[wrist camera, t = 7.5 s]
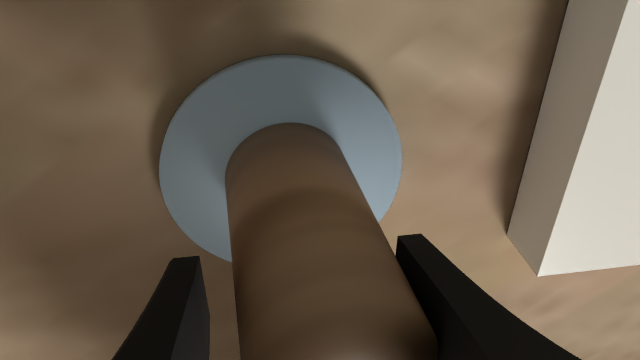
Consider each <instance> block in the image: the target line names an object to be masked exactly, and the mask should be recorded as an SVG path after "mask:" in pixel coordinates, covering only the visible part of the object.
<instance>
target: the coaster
mask: <svg viewBox="0 0 640 360" xmlns="http://www.w3.org/2000/svg"><path fill="white" fill-rule="evenodd" d="M293 122H294V123H303V124H307V125H311V126H314V127H316V128H318V129H320V130H322V131H324V132H325V133H327V134H328V135H329V136H331V137H332V138H333V139H334V140H335V142H336V143H337V144H338V146H339V147H340V149H341V151H342V153H343V155H344V157H345V159H346V161H347V163H348V165H349V167H350V169H351V171H352V172H353V174H354V176H355V178H356V180H357V182H358V184H359V186H360V188H361V190H362V192H363V194H364V196H365V198H366V200H367V202H368V204H369V206H370V208H371V210H372V212H373V214H374V216H375V217H376V219H377V221H378V222H379V221H380V220H381V219H382V218H383V216H384V215H385V213H386V212H387V210H388V208H389V207H390V205H391V203H392V201H393V199H394V197H395V195H396V191H397V188H398V185H399V182H400V177H401V171H402V149H401V142H400V138H399V135H398V131H397V128H396V126H395V124H394V122H393V120H392V117H391V116H390V114H389V113H388V111H387V110H386V108H385V106H384V105H383V103H382V102H381V100H380V99H379V97H378V96H377V95H376V94H375V93H374V92H373V91H372V89H371V88H370V87H369V86H368V85H367V84H365V83H364V82H363V81H362V80H361V79H359V78H358V77H357V76H355V75H354V74H352V73H350V72H349V71H347V70H346V69H344V68H342V67H339V66H337V65H335V64H333V63H330V62H328V61H324V60H321V59H317V58H314V57H308V56H301V55H283V54H277V55H268V56H260V57H256V58H252V59H248V60H244V61H241V62H238V63H236V64H233V65H231V66H228V67H226V68H224V69H222V70H221V71H219V72H217V73H215V74H213V75H212V76H210V77H209V78H208V79H206V80H205V81H203V82H202V83H201V84H199V85H198V86H197V87H196V88H195V89H194V90H193V91H192V92H191V93H190V94H189V95H188V96H187V97H186V98H185V100H184V101H183V102H182V104H181V105H180V106H179V108H178V109H177V110H176V112H175V114H174V116H173V118H172V119H171V121H170V123H169V126H168V129H167V131H166V134H165V137H164V141H163V145H162V149H161V155H160V160H159V179H160V187H161V191H162V195H163V198H164V202H165V204H166V206H167V208H168V210H169V212H170V215H171V216H172V218H173V219H174V221H175V222H176V224H177V225H178V226H179V227H180V229H181V230H182V231H183V232H184V233H185V234H186V235H187V236H188V237H189V238H190V239H191V240H192V241H193V242H195V243H196V244H197V245H198V246H200V247H201V248H203V249H204V250H206V251H207V252H209V253H211V254H213V255H215V256H217V257H219V258H221V259H223V260H226V261H229V262H232V257H231V246H230V235H229V223H228V212H227V201H226V190H225V171H226V167H227V164H228V161H229V159H230V157H231V155H232V153H233V152H234V150H235V149H236V148H237V147H238V145H239V144H240V143H241V142H242V141H243V140H245V139H246V138H247V137H248V136H250V135H251V134H253V133H254V132H256V131H258V130H260V129H262V128H265V127H267V126H270V125H274V124H279V123H293Z"/></svg>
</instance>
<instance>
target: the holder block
mask: <svg viewBox="0 0 640 360" xmlns="http://www.w3.org/2000/svg"><path fill="white" fill-rule="evenodd" d="M507 237H508V238H509V240H510V241H511V242H512V244H513V245H514V246H515V247H516V249H517V250H518V251H519V253H520V254H521V255H522V257H523V258H524V259H525V261H526V262H527V263H528V265H529V266H530V267H531V269H532V270H533V271H534V273H535V274H536V275H537V276H546V275H554V274H563V273H572V272H580V271H589V270H598V269H607V268H615V267H624V266H633V265H640V0H569V3H568V6H567V10H566V14H565V18H564V21H563V25H562V29H561V33H560V37H559V40H558V44H557V48H556V52H555V55H554V59H553V63H552V67H551V70H550V74H549V78H548V82H547V85H546V89H545V93H544V97H543V100H542V104H541V108H540V112H539V115H538V119H537V123H536V127H535V130H534V134H533V138H532V142H531V146H530V149H529V153H528V157H527V161H526V164H525V168H524V172H523V176H522V179H521V183H520V187H519V191H518V194H517V198H516V202H515V206H514V209H513V213H512V217H511V221H510V224H509V228H508V232H507Z"/></svg>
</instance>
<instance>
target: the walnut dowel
mask: <svg viewBox="0 0 640 360" xmlns="http://www.w3.org/2000/svg"><path fill="white" fill-rule="evenodd" d="M225 190H226V201H227V212H228V223H229V235H230V246H231V257H232V268H233V279H234V290H235V301H236V312H237V323H238V334H239V345H240V356H241V360H437V357H438V342H437V338H436V335H435V333H434V331H433V329H432V327H431V325H430V323H429V321H428V319H427V317H426V315H425V313H424V311H423V309H422V307H421V306H420V304H419V302H418V300H417V298H416V296H415V294H414V292H413V290H412V288H411V286H410V284H409V282H408V280H407V278H406V276H405V274H404V272H403V270H402V268H401V266H400V264H399V262H398V261H397V259H396V257H395V255H394V253H393V251H392V249H391V247H390V245H389V243H388V241H387V239H386V237H385V235H384V233H383V231H382V229H381V227H380V225H379V223H378V221H377V219H376V217H375V216H374V214H373V212H372V210H371V208H370V206H369V204H368V202H367V200H366V198H365V196H364V194H363V192H362V190H361V188H360V186H359V184H358V182H357V180H356V178H355V176H354V174H353V172H352V171H351V169H350V167H349V165H348V163H347V161H346V159H345V157H344V155H343V153H342V151H341V149H340V147H339V146H338V144H337V143H336V142H335V140H334V139H333V138H332V137H331V136H329V135H328V134H327V133H325V132H324V131H322V130H320V129H318V128H316V127H314V126H311V125H307V124H303V123H294V122H293V123H279V124H274V125H270V126H267V127H265V128H262V129H260V130H258V131H256V132H254V133H253V134H251V135H250V136H248V137H247V138H246V139H245V140H243V141H242V142H241V143H240V144H239V145H238V147H237V148H236V149H235V150H234V152H233V153H232V155H231V157H230V159H229V161H228V164H227V167H226V171H225Z"/></svg>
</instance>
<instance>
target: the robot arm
mask: <svg viewBox="0 0 640 360" xmlns="http://www.w3.org/2000/svg"><path fill="white" fill-rule="evenodd" d="M396 259H397V261H398V262H399V264H400V266H401V268H402V270H403V272H404V274H405V276H406V278H407V280H408V282H409V284H410V286H411V288H412V290H413V292H414V294H415V296H416V298H417V300H418V302H419V304H420V306H421V307H422V309H423V311H424V313H425V315H426V317H427V319H428V321H429V323H430V325H431V327H432V329H433V331H434V333H435V335H436V338H437V342H438V357H437V360H581V359H579V358H578V357H576V356H574V355H573V354H571V353H569V352H568V351H566V350H565V349H563V348H561V347H560V346H558V345H557V344H555V343H553V342H552V341H551V340H549V339H548V338H546V337H545V336H543V335H542V334H540V333H539V332H537V331H536V330H534V329H533V328H531V327H530V326H528V325H527V324H526V323H524V322H523V321H522V320H520V319H519V318H517V317H516V316H515V315H513V314H512V313H511V312H510V311H508V310H507V309H506V308H504V307H503V306H502V305H501V304H499V303H498V302H497V301H495V300H494V299H493V298H492V297H491V296H489V295H488V294H487V293H486V292H485V291H483V290H482V289H481V288H480V287H479V286H478V285H476V284H475V283H474V282H473V281H472V280H471V279H470V278H468V277H467V276H466V275H465V274H464V273H463V272H462V271H461V270H459V269H458V268H457V267H456V266H455V265H454V264H453V263H452V262H451V261H450V260H449V259H448V258H447V257H445V256H444V255H443V254H442V253H441V252H440V251H439V250H438V249H437V248H436V247H435V246H434V245H433V244H432V243H431V242H429V241H428V240H427V239H426V238H425V237H424V236H423V235H422V234H413V235H403V236H398V239H397V248H396ZM209 345H210V314H209V309H208V303H207V297H206V292H205V286H204V281H203V275H202V269H201V264H200V258H199V256H192V257H182V258H173V259H172V260H171V261H170V262H169V264H168V266H167V268H166V270H165V272H164V274H163V276H162V278H161V280H160V282H159V284H158V286H157V288H156V290H155V292H154V293H153V295H152V297H151V299H150V301H149V302H148V304H147V306H146V307H145V309H144V311H143V312H142V314H141V316H140V317H139V319H138V321H137V322H136V324H135V326H134V327H133V329H132V330H131V332H130V333H129V335H128V336H127V338H126V339H125V341H124V342H123V344H122V345H121V347H120V348H119V350H118V351H117V353H116V354H115V356H114V357H113V358H112V360H209Z"/></svg>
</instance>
